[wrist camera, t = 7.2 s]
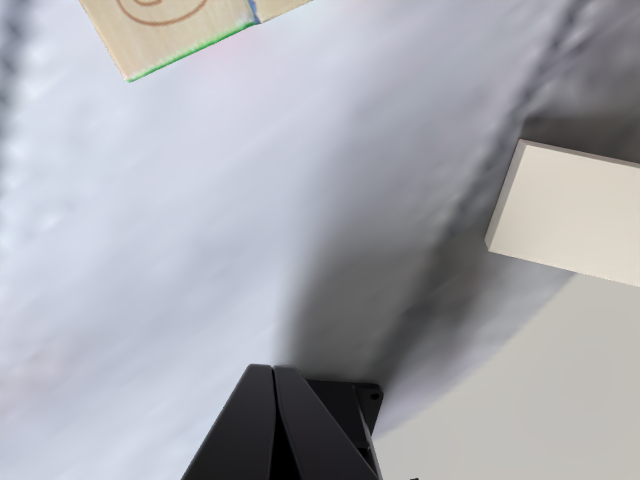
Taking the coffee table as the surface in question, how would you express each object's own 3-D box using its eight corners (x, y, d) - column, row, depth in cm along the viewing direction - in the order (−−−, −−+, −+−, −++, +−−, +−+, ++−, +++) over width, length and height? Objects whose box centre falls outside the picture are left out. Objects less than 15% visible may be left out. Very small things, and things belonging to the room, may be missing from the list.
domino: (484, 238, 23) (654, 278, 22) (488, 251, 21) (670, 294, 20) (519, 138, 21) (707, 178, 20) (526, 144, 19) (730, 187, 19)
